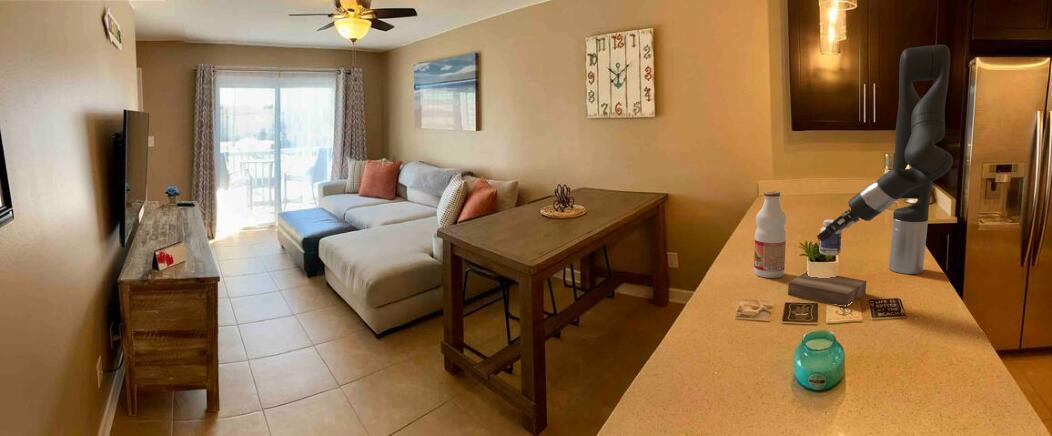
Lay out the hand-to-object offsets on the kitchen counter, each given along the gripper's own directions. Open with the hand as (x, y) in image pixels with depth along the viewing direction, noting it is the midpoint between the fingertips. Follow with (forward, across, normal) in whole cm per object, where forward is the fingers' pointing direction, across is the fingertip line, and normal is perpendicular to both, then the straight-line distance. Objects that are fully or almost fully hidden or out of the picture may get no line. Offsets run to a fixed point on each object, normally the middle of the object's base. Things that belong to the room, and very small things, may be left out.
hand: (823, 236), depth 157 cm
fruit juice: (+26, -8, -1) cm, 27 cm away
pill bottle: (+2, 0, +5) cm, 5 cm away
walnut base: (+11, 0, +13) cm, 17 cm away
